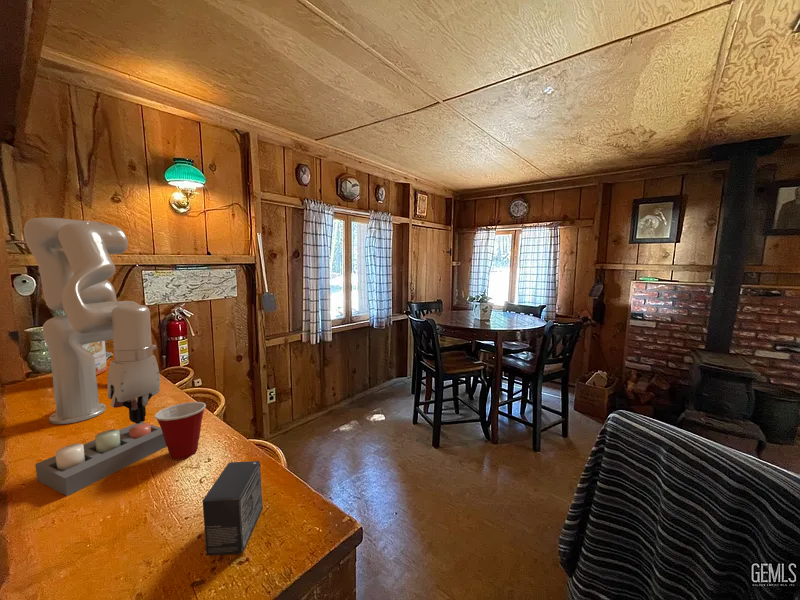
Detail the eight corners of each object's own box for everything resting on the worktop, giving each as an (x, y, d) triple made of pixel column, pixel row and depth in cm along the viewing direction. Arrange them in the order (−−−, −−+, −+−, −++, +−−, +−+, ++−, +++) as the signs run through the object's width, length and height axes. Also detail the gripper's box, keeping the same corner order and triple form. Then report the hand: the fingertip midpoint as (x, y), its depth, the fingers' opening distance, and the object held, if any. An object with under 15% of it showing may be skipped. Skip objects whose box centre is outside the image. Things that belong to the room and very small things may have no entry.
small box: (230, 509, 66) (227, 460, 64) (263, 508, 66) (262, 459, 65) (203, 556, 55) (199, 499, 54) (243, 554, 56) (241, 497, 55)
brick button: (126, 447, 85) (125, 429, 85) (145, 438, 89) (143, 422, 89) (137, 451, 84) (135, 433, 83) (155, 442, 88) (154, 425, 87)
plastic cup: (202, 436, 92) (199, 395, 90) (213, 453, 84) (211, 408, 83) (154, 452, 84) (150, 407, 83) (162, 472, 77) (158, 423, 75)
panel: (37, 480, 73) (35, 463, 72) (141, 434, 92) (140, 421, 92) (67, 496, 68) (65, 478, 68) (170, 444, 88) (169, 430, 87)
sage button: (92, 455, 79) (90, 436, 78) (114, 445, 83) (112, 427, 82) (103, 459, 77) (101, 440, 77) (125, 449, 81) (123, 431, 81)
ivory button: (53, 472, 72) (51, 451, 72) (78, 461, 76) (76, 441, 76) (64, 477, 71) (61, 456, 70) (89, 466, 75) (87, 446, 74)
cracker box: (85, 382, 129) (80, 330, 127) (67, 383, 128) (61, 330, 125) (108, 370, 143) (104, 323, 140) (92, 371, 141) (87, 323, 139)
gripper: (155, 344, 92) (158, 406, 94) (88, 359, 78) (94, 431, 81) (173, 348, 89) (176, 412, 92) (107, 364, 75) (113, 439, 78)
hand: (138, 421), depth 86 cm, fingers closed
